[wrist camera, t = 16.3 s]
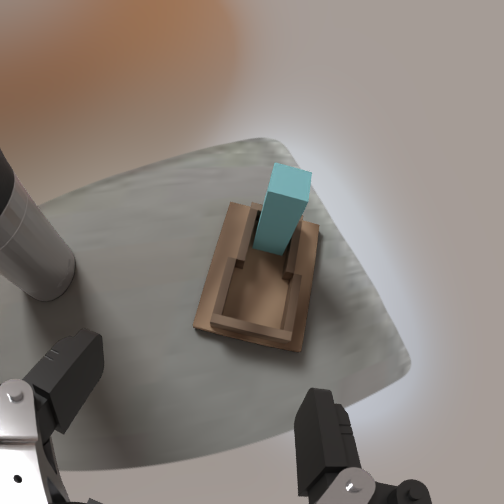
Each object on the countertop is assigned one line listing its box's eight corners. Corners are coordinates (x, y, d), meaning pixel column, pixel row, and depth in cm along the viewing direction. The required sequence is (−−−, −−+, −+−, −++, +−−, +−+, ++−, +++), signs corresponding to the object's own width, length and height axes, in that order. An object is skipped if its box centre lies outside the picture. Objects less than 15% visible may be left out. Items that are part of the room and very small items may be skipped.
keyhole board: (193, 327, 34) (191, 320, 31) (229, 205, 42) (231, 190, 39) (298, 352, 34) (307, 348, 31) (317, 228, 42) (325, 215, 39)
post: (252, 248, 39) (267, 191, 28) (258, 223, 40) (274, 162, 30) (282, 255, 39) (308, 201, 28) (286, 230, 40) (311, 172, 30)
